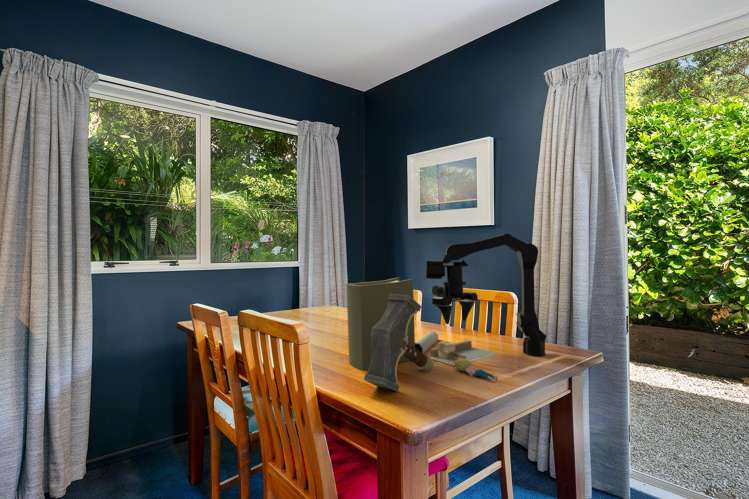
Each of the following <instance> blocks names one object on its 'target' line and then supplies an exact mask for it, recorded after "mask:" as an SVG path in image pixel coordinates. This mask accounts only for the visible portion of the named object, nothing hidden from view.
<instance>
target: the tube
mask: <svg viewBox="0 0 749 499" xmlns="http://www.w3.org/2000/svg"><path fill="white" fill-rule="evenodd" d="M438 341H439V335H438V333H437V332H436V331H434V330H433V331H432V330H430V331H429V332H427V333H426V334H425V335H423V336H422V337H421V338H418V340H416V341H415V348H416V349H417V350H419V348H420V347H421V352H422V353H425V352H426V351H428V350H429V349H431V347H432V346H433V345H434V344H436V343H437V342H438Z"/></svg>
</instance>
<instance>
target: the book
mask: <svg viewBox="0 0 749 499" xmlns="http://www.w3.org/2000/svg"><path fill="white" fill-rule="evenodd" d="M390 294H399V295H408V296H410V297H412V298H413V299H414V280H413V278H409V279H403V280H401V279H400V277H398V276H397V277H393V278H389V279H385V280H384V279H383V280H376V281H375V280H374V281H364V282H354V283H346V303H347V304H346V305H347V310H346V312H347V336H348V338H347V339H348V363H349V365H350V366H351V367H353V368H355V369H358V370H361V371H364V370H365V371H366V370H369V366H370V361H371V352H372V342H371V331H372V328H373V327H374V326H375V325H376V324H377V323H378V322H379V321H380V319H381V318H382V316H383V315H384V313H385V311H386V309H387V307H388V304H389V295H390ZM407 336H408V344H411V345H412V346H413V347H415V342H416V340H415V339H416V338H415V336H416V335H415V315H414V316H413V317H412V318H411V320H410V322H409V325H408V330H407ZM401 362H410V361H409V359H407V358H405V357H404V356H401V357H400V359H399V362H398V363H401Z"/></svg>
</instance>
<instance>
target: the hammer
mask: <svg viewBox="0 0 749 499" xmlns="http://www.w3.org/2000/svg"><path fill="white" fill-rule="evenodd" d="M421 309H422V305H421V304H420V303H418V302H417V301H416V300H415V299H414V297H413V298H412V297H410V296H408V295H399V294H390V295H389V304H388V307H387V309H386V311H385V313H384V315H383V316H382V318H381V319H380V321H379V322H378V323H377V324H376V325H375V326H374V327H373V328H372V331H371V342H372V352H371V361H370V366H369V369H367V373H365V375H364V376H363V380H364V381H365V382H367V383H369V384H371V385H373V386H375V387H377V388H381V389H385V390H389V391H393V392H397V393H399V392H400V385H399V379H398V376H397V371H398V370H397V369H398V364H399V363H400V362H399V359H400V357H401V356H404V357H405V358H407V359H409V361H408V362H410V363H413V364H414V365H415V367H416V368H418V369H419V370H420V371H421V370H422V371H423V372H427V371H429V370H431V369H432V368H433V365H434V362H433V360H432V359H433V358H431V357H429V356H430V355H428V354H427V353H425V352H424V353H422V350H419V349H416V348H415V347H413V346H412V345H411V344H408V336H407V330H408V325H409V322H410V320H411V318H412V317H413V316H414V317H415V315H416V314H418V312H420V311H421Z"/></svg>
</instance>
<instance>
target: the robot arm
mask: <svg viewBox="0 0 749 499" xmlns="http://www.w3.org/2000/svg"><path fill="white" fill-rule="evenodd" d="M502 246H505V247H507V248H509V249H510V250H512V251H513V252H515V253H516V254H517V258H518V259H517V260H518V263H519V266H520V270H521V277H520V278H521V309H520V313H519V312H516V325H517V326H518V329H519V331H520V332H522V333H523V335H524V338H523V341H522V351H523V352H522V353H523V354H525V355H527V356H530V357H539V358H541V357H545V356H546V339H547V335H546V334H545V333H544V332H543V331H542V330H541V329H540V325H539V324H540V322H539V319H538V315H537V312H536V308H535V307H536V306H535V268H536V265H537V262H538V256H539V248H538V247H537V246H536V245H535V244H533V243H528V242H527V243H526V242H524V241H523V240H522V239H521V240H520V239H518V238H517V237H514V236H513V235H511V234H510V233H502V234H500V235H495V236H493V237H488V238H484V239H481V240H477V241H473V242H467V243H453V244H450V245H448V246H447V247H446V250H445V255H444V256H443V258H442V259H441V260H426V269H425V270H426V272H425V273H426V274H425V275H426V276H425V278H426V280H442V279H443V278H444V277H446V281H444V282H443V286H439V285H434V286H433V285H432V288H431V293H432V295H433V297H432V299H431V304H432V305H434V307H437V308H438V309H439V310H440V311H441V312H440V313H441V315H442V317H443V320H444V322H445V325H449V324H450V320H451V315H452V309H453V305H452V303H453V302H458V303H459V304H460V307H461V318H462V322H463V321H464V322H466V320H467V319H468V316H469V314H470V313H471V310H472V309H473V306H474V304H475V303H476V301H478V300H479V299H478V298H479V295H478V294H477V293H476V292H473V291H464V286H466V284H467V282H466V281H464V268H463V267H469V264H468V263H467V262H466V261H465V259H463V258H466V257H467V256H469V255H472V254H474V253H478V252H481V251H485V250H486V251H487V250H490V249H493V248H499V247H502ZM459 260H461V261H459ZM452 261H453V262H452ZM451 262H452V264H449V263H451Z"/></svg>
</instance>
